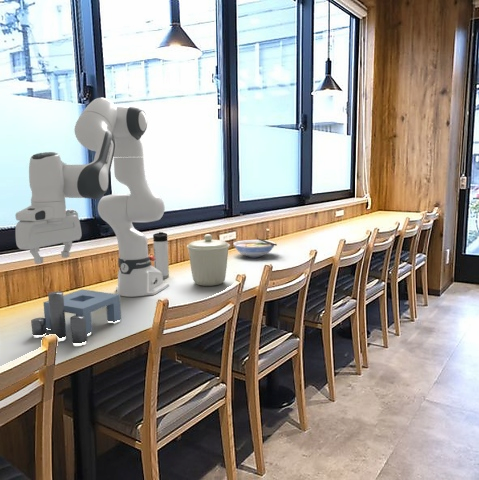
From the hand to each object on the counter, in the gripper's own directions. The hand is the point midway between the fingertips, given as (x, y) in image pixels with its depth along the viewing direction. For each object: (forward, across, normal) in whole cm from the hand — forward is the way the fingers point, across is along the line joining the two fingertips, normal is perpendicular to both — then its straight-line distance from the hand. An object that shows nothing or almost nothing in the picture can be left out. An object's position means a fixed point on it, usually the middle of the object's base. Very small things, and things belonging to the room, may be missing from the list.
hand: (52, 260), depth 132 cm
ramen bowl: (+23, -134, +2) cm, 136 cm away
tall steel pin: (+24, 0, 0) cm, 24 cm away
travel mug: (+23, -75, -17) cm, 81 cm away
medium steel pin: (+24, 0, +8) cm, 25 cm away
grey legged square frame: (+24, -12, -2) cm, 27 cm away
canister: (+24, -74, +8) cm, 78 cm away
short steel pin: (+24, 0, -8) cm, 25 cm away
